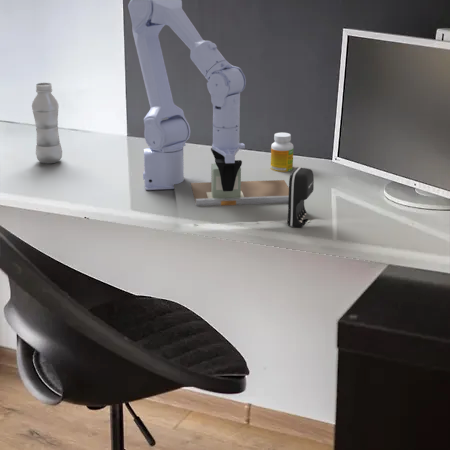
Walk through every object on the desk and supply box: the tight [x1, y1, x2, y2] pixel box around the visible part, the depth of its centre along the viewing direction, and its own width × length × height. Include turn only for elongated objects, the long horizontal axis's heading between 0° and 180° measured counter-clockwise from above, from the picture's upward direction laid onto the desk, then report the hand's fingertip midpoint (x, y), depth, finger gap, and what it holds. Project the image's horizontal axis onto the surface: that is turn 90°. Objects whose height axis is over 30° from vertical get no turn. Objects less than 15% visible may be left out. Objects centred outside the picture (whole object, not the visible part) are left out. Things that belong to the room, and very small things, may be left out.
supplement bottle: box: [270, 132, 294, 173], centre depth 201 cm, size 5×5×10 cm
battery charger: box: [287, 166, 315, 228], centre depth 170 cm, size 7×4×11 cm, turn 160°
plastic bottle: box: [31, 82, 63, 164], centre depth 206 cm, size 6×7×20 cm
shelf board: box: [190, 179, 289, 207], centre depth 186 cm, size 22×15×2 cm
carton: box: [210, 163, 242, 198], centre depth 182 cm, size 4×6×7 cm
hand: (225, 185), depth 182 cm, fingers open, 7 cm apart
